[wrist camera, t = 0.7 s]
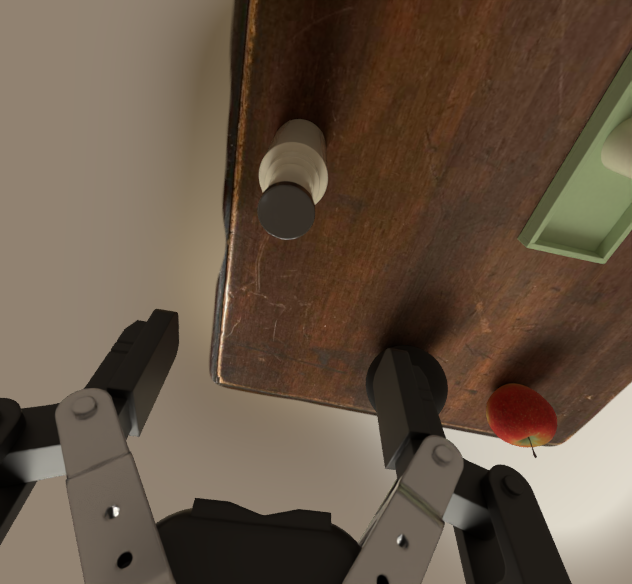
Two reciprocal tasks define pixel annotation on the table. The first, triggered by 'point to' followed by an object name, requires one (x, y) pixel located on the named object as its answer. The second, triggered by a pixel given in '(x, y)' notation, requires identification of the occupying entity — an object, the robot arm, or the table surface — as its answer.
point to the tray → (588, 188)
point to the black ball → (428, 368)
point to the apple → (521, 416)
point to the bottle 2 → (619, 150)
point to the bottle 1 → (292, 179)
